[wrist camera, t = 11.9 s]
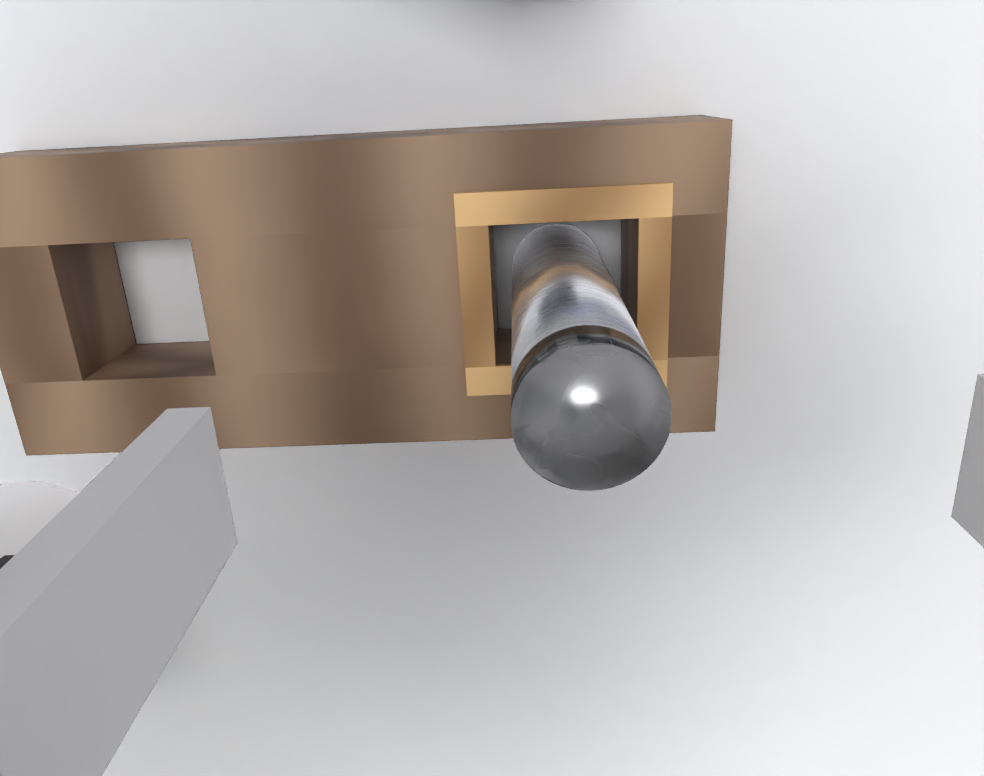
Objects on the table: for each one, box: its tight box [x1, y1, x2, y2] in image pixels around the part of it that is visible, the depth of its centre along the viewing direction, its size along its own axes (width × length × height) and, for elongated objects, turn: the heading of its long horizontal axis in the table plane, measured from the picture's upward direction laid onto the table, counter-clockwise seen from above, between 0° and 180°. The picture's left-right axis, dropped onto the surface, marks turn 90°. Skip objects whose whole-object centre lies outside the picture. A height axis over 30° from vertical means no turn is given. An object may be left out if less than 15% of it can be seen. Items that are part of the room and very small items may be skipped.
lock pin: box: [511, 223, 672, 491], centre depth 22 cm, size 3×3×14 cm
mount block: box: [0, 115, 732, 455], centre depth 27 cm, size 24×10×4 cm, turn 93°
